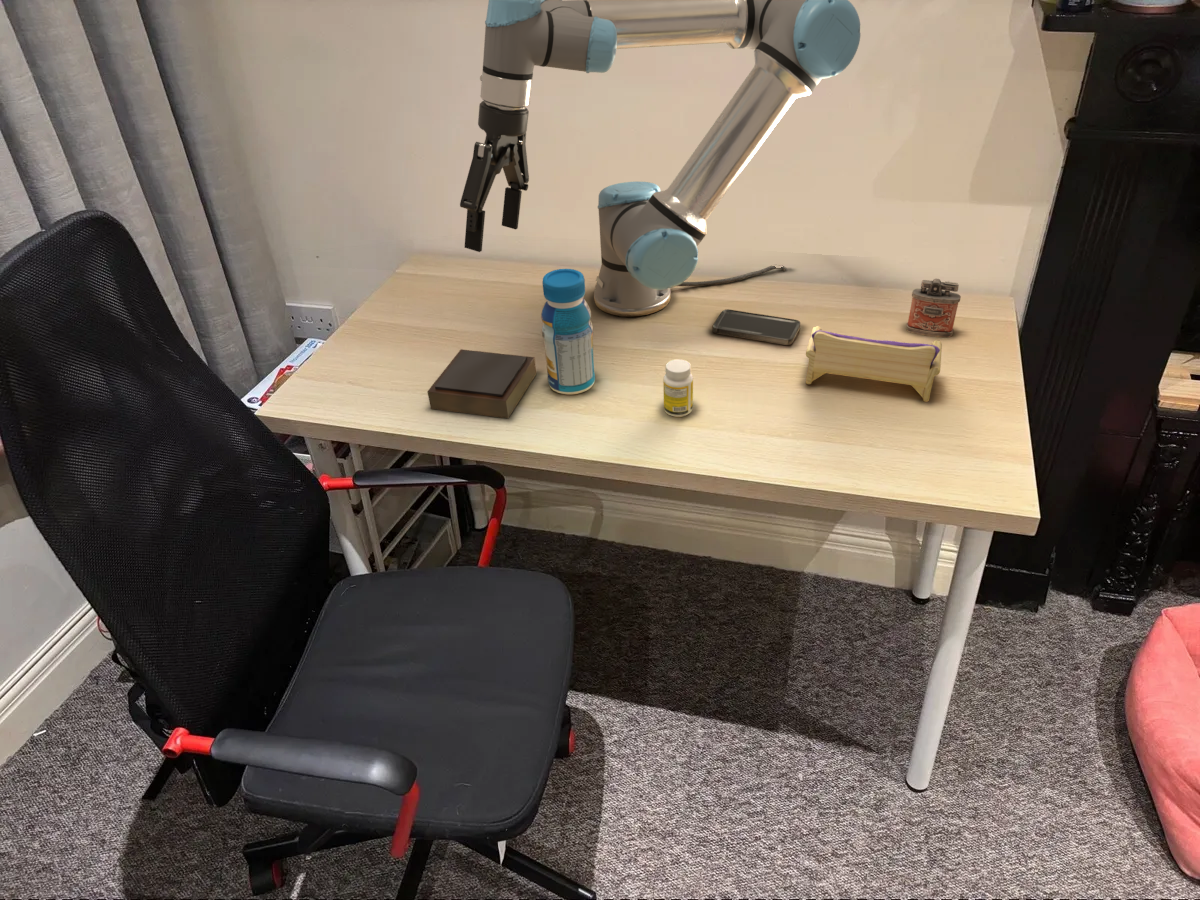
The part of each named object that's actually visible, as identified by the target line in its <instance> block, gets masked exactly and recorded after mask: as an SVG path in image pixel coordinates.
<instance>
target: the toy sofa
mask: <svg viewBox="0 0 1200 900" xmlns="http://www.w3.org/2000/svg"><path fill="white" fill-rule="evenodd" d="M942 347H943V344H942V342H941V341H940V340H934V341H932V342H931V344H928V343H917V342H916V343H915V342H901V341H894V340H885V339H884V340H880V339H871V338H865V337H860V336H859V337H858V336H854V335H853V336H852V335H846V334H840V333H837V332H832V331H827V330H822V328H821V327H820V326H817V325H816V326H813V328H812V329H811V333H810V336H809V339H808V343H807V347H806V350H805V357H806V358H807V359H808V362H807V363H808V364H807V371H806V379H805V384H806V385H812V383H813V382H814V381H816V380H817V379H819V378H820V377H822V376H824V375H825V374H831V375H837V376H846V377H851V378H859V379H865V380H866V379H867V380H873V381H882V382H888V383H895V384H901V385H907V386H911V387H913V389H914V390H915V391H916V392H917V393H918V394H919V396H920V397H921V398H922V402H929V401H930V397H931V392H932V388H933V384H934V383H933V382H934V380H935V376H938V375H940V374H941V367H942V366H941V365H942V349H943V348H942Z"/></svg>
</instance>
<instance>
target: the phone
mask: <svg viewBox="0 0 1200 900" xmlns="http://www.w3.org/2000/svg"><path fill="white" fill-rule="evenodd" d="M800 329H801V321H800V320H798V319H794V318H786V317H779V316H773V315H768V314H761V313H755V312H748V311H741V310H735V309H729V308H728V309H727V308H726V309H723V310H722V311H721V312H720V314H719V315H718V317H717V318H716V319H715V321H714V323H713V325H712V332H713V334H718V335H723V336H729V337H733V338H734V337H735V338H741V339H747V340H753V341H757V342H758V341H759V342H764V343H770V344H777V345H782V346H783V345H784V346H790V345H792V344H793V343H794V341H795V339H796V337H797V335H798V333H799V331H800Z"/></svg>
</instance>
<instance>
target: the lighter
mask: <svg viewBox="0 0 1200 900" xmlns="http://www.w3.org/2000/svg"><path fill="white" fill-rule="evenodd" d="M959 287H960V284H959V283H958V282H952V281H941V279H939V278H933V280H930V279H922V280H921V284H920V288H914V289H913V290H912V293H911V296H912V299H911V304H910V310H909V314H908V320H907V323H906V325H905V330H906V331H907V332H908V333H912V334H916V335H920V336H921V335H922V336H928V337H937V338H950V337H952V336H953V333H954V325H955V320H956V315H957V311H958V306H959V303H960V301H961V297H962V296H961V295H960V294H959V293H957V292H958V291H959Z"/></svg>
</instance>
